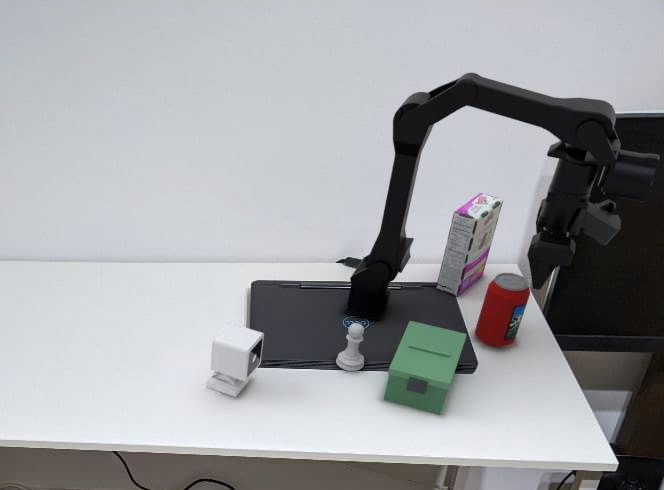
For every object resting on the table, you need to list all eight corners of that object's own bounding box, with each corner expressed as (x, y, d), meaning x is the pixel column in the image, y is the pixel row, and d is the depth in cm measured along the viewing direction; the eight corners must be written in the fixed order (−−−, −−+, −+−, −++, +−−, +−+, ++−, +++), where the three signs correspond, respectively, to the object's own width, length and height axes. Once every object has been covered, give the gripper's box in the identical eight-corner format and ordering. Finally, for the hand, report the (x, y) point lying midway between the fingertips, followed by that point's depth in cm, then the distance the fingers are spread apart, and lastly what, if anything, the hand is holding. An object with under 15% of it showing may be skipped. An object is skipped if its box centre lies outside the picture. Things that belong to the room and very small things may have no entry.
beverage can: (516, 352, 148) (536, 292, 141) (475, 348, 149) (493, 288, 142) (510, 331, 153) (529, 272, 146) (471, 327, 154) (488, 269, 147)
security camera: (242, 401, 138) (247, 350, 132) (204, 388, 141) (207, 337, 135) (259, 381, 142) (264, 331, 136) (221, 368, 145) (225, 319, 139)
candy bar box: (459, 267, 172) (480, 191, 161) (483, 276, 169) (505, 199, 159) (433, 288, 165) (453, 210, 155) (457, 297, 163) (479, 218, 152)
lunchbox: (381, 401, 138) (388, 367, 133) (403, 349, 149) (410, 317, 145) (440, 417, 134) (450, 383, 130) (458, 363, 146) (468, 330, 141)
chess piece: (340, 372, 144) (347, 333, 139) (332, 356, 148) (339, 317, 143) (367, 371, 144) (375, 331, 139) (359, 355, 148) (366, 316, 143)
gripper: (626, 222, 121) (588, 315, 131) (629, 174, 135) (595, 261, 144) (543, 207, 125) (512, 298, 135) (554, 161, 138) (525, 247, 148)
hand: (539, 276), depth 140 cm, fingers open, 9 cm apart
